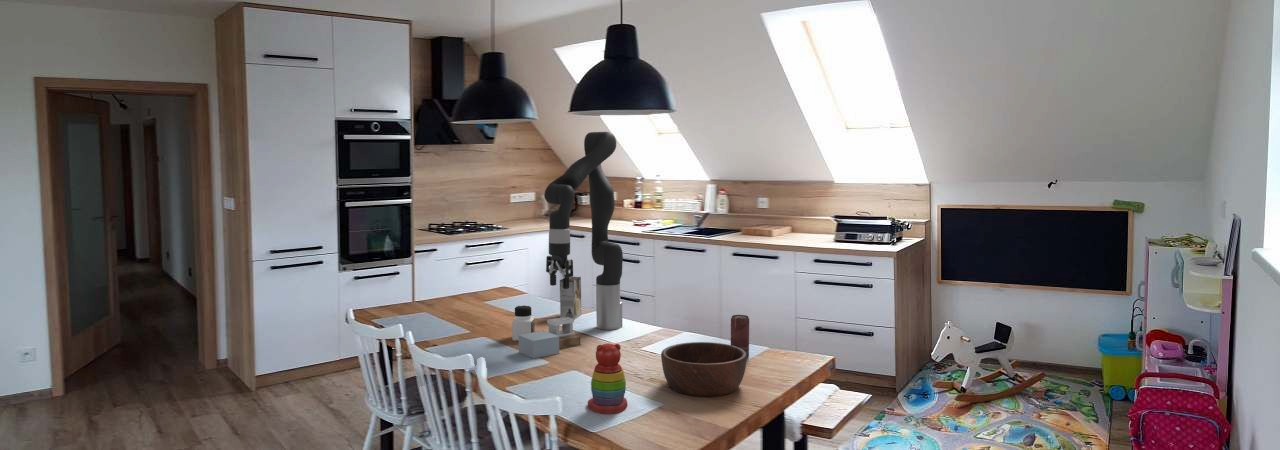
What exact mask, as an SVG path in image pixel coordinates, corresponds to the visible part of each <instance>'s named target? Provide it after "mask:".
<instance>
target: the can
mask: <svg viewBox="0 0 1280 450" xmlns="http://www.w3.org/2000/svg"><path fill="white" fill-rule="evenodd" d="M730 345H732V346H736V347H738V348H740V349H742V350H744V351H745V352H746V354H747V358H748V359H749V357H750V318H749V316H748V315H745V314H734V315H731V317H730Z"/></svg>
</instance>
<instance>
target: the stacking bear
mask: <svg viewBox="0 0 1280 450" xmlns="http://www.w3.org/2000/svg"><path fill="white" fill-rule="evenodd" d="M621 356H622V353H621V345H620V344H619V343H615V344H614V343H603V344H597V346H596V350H595V359H596V362H597V364H596V365H595V366H594V369H593V372H592V377H591V381H590V389H591V395H592V397H591V398H590V399H589V400H588V401H587V408H589V410H591V411H592V412H595V413H598V414H602V413H603V414H602V415H612V414H618V413H621V412H623V411H624V410H626V409H627V407H628V400H627V398H626V397H625V393H626V389H627V387H626V385H627V383H626V382H627V381H626V378H625V377H626V376H625V372H624V370H623V367H622V365H621V364H619V363H620V360H621V358H622V357H621Z"/></svg>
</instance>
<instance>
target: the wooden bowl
mask: <svg viewBox="0 0 1280 450" xmlns="http://www.w3.org/2000/svg"><path fill="white" fill-rule="evenodd" d="M660 357H661V365H662V372H663V375H664V378H665V381H666V382H667V384H668V385H669V386H668V387H670V388H671V389H673V391H675V392H677V393H680V394H684V395H688V396H694V397H717V396H719V397H720V396H724V395H728V394H730V393H733V392H735V391H736V390H737V389H738V388H739V386H741V383H742V381H743V378H744V375H745V372H746V369H747V368H746V367H747V360H748V359H747V354H746V352H745V351H744V350H742V349H740V348H738V347H736V346H732V345H731V344H726V343H720V342H712V341H711V342H709V341H707V342H706V341H695V342H693V341H692V342H684V343H676V344H673V345H672V344H671V345H670V346H667V347H665V348H664V349H662V351H661V354H660Z"/></svg>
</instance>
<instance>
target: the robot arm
mask: <svg viewBox="0 0 1280 450" xmlns="http://www.w3.org/2000/svg"><path fill="white" fill-rule="evenodd" d="M583 147H584V148H583V150H584V156H582V157H581V158H579V159H578V160H576V161H574V162H572V164H571V165H569V167H568V169H566V170H565V171H564V173H563V174H562V175H561V176H558V177H557V178H556V179H555V180H553V181H551V182H550V183H549V184H548V185H547V187H546V188H545V190H544V195H543V196H544V199H545V201H546V202H547V203H548V204H551V205H557V206H559V207H558V209H557V210H555V211H552V212H551V213H550V214H549V222H548V224H549V230H548V254H549V255H547V256H546V264H545V267H546V268H545V272H546V273H547V274H548V275H549V285H550V286H557V273H558V271H559V273H560V274H561V276H562V279H563V289H568V288H569V278H570V277H574V260H573V259H568V256H569V255H570V254H571V230H570V221H571V220H570V217H571V213H572V209H573V205H574V201H575V190H576V189H578V188H579V187H580V186H581V185H582V184H583V182H584V181H585V180H586V179H587V178H588V187H589V200H590V201H589V204H590V205H589V206H590V213H591V214H590V215H591V216H590V218H591V258H592V260H593V262H594V263H595V264H597V265H599V266H603V271H602V273H601V274H599V275H597V276H596V278H595V288H596V289H595V290H596V291H595V295H596V304H595V306H596V307H595V308H596V309H595V310H596V313H595V314H596V329H598V330H604V331H605V330H606V331H608V330H609V331H612V330H617V329H620V328H622V327H623V302H621V278H622V275H623V265H624V264H623V259H624V257H623V255H624V254H623V249H622V247H621V245H620V244H618V243H617V242H612V241H611V242H610V241H609V236H608V231H609V230H608V229H609V224H610V222H611V219H612V217H613V215H614V212H615V207H616V206H615V205H616V204H615V192H614V188H613V186H612V184H611V182H610V181H609V179H608V178H607V176H606V174H605V173H604V171H603V168H602V163H603V162H604V161H606V160H607V159H608V158H610V157H611V156H613V153H614V152H615V150H616V149H617V137H615V135H614V134H613V133H612V132H609V131H591V132H588V133H587V134H586V135H585V137H584V141H583Z"/></svg>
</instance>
